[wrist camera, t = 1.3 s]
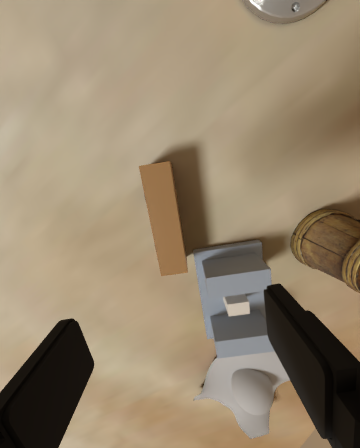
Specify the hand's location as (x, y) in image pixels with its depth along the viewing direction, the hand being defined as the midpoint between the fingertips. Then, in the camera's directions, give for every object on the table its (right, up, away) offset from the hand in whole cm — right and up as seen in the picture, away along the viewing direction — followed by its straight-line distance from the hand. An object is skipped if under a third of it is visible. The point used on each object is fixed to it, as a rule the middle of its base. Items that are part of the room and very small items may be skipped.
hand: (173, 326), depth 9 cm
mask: (+13, -22, +26) cm, 36 cm away
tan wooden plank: (-2, +6, +18) cm, 20 cm away
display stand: (+9, -6, +21) cm, 24 cm away
